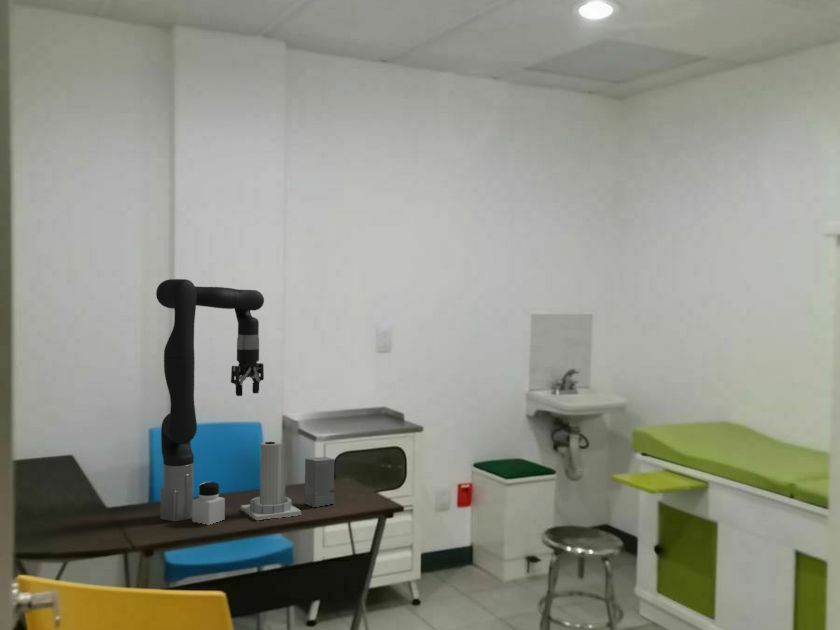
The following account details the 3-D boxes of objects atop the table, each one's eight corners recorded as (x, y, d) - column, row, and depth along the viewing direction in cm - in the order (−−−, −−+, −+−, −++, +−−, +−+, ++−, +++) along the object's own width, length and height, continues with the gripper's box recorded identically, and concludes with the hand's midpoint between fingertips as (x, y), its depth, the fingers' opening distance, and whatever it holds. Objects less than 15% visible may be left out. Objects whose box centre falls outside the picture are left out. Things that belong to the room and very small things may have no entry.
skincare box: (314, 508, 276) (314, 461, 276) (302, 504, 282) (303, 457, 281) (335, 504, 281) (336, 458, 281) (323, 500, 287) (324, 454, 286)
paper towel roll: (255, 508, 269) (256, 443, 268) (267, 504, 274) (268, 440, 274) (273, 511, 266) (274, 445, 265) (285, 507, 271) (286, 442, 270)
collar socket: (256, 521, 260) (256, 508, 260) (240, 510, 273) (241, 497, 272) (301, 515, 267) (301, 503, 267) (283, 504, 280) (284, 492, 280)
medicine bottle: (225, 520, 260) (225, 482, 260) (208, 525, 254) (209, 486, 254) (208, 516, 264) (208, 479, 264) (191, 522, 258) (192, 483, 257)
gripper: (253, 346, 294) (252, 391, 295) (225, 348, 282) (225, 395, 282) (269, 347, 291) (269, 393, 291) (242, 349, 278) (241, 397, 279)
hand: (247, 394), depth 287 cm, fingers open, 8 cm apart
